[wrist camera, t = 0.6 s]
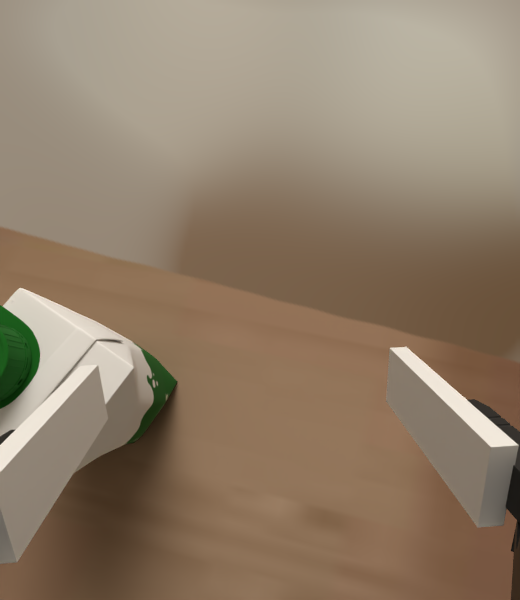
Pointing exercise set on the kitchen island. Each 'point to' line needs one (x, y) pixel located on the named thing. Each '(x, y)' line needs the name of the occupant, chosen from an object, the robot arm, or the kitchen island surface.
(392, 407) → the robot arm
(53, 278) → the kitchen island surface
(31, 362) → the milk carton
